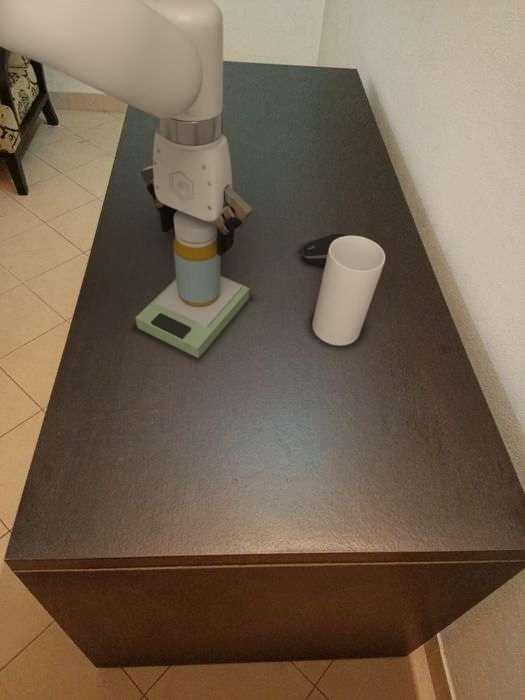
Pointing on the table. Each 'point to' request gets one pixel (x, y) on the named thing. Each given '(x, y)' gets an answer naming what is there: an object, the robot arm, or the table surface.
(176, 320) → the scale
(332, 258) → the cup
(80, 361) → the table surface
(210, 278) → the bottle
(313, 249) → the computer mouse
